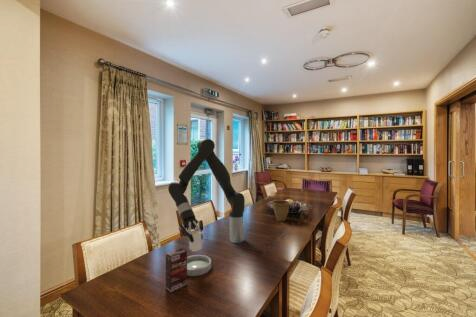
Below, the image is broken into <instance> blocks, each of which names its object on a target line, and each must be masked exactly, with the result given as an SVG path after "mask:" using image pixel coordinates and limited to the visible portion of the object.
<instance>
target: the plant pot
mask: <svg viewBox="0 0 476 317" xmlns="http://www.w3.org/2000/svg"><path fill="white" fill-rule="evenodd" d="M290 205H291V204H290V201H288V200H283V199H282V200H281V199H280V200H279V199H278V200H273V201H272V208H273V211H274V216H275V218H276V220H277V221H278V222H285V221H286V220H287V216H288V214H289V210H290Z"/></svg>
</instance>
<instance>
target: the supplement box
mask: <svg viewBox="0 0 476 317" xmlns="http://www.w3.org/2000/svg"><path fill="white" fill-rule="evenodd" d="M187 257H188V251H187V250H186V249H184V248H180V249H176V250H173V251H170V252H167V253H165V288H166V290H168V291H169V292H170V293H173V292H174V291H175V290H178V289H180V288H183V287H184V286H186V285H188V275H187Z"/></svg>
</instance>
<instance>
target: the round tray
mask: <svg viewBox="0 0 476 317" xmlns="http://www.w3.org/2000/svg"><path fill="white" fill-rule="evenodd" d="M211 269H212V259H211V257H209V256H208V255H204V254H194V255H189V256H187V276H190V277H195V276H202V275H204V274H207V273H208V272H209V271H210V270H211Z"/></svg>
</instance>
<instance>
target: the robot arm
mask: <svg viewBox="0 0 476 317" xmlns="http://www.w3.org/2000/svg"><path fill="white" fill-rule="evenodd" d="M215 145H216V144H215V142H214V141H213V139H210V138H201V139H199V140H198V142H197V145H196V146H197V152H196V154H195V156H194V157H193V158H192V159H191V160H190V161H189V162H188V163H187V164H186V165H185V166H184V168H183V169H182V171H181V172H180V173H179V175H178V179H179V183H178V182H176V181H175V182H173V181H172V182H171V183H169V185H168V188H167V189H168V193H169V195H170V197H171V198H172V200H173V201H174V202H175V206H176V209H177V212H178V215H179V218H180V220H181V222H182V224H180V225H179V227H178V230H179V231H180V233H181V234H182V235H183V236H184V237H188V241H189V240H190V242H191V243H192V242H194V239H193V237H192V234H191V231H192V230H193V231H195V230H198V231H200V232H201V241H202V240H203V238H204V235H203V233H202V232H203V231H204V230H205V229H204V222H203V220H202V219H201V220H197V217H196V215H195V212H194V210H193V207H192V205H191V204H190V202H189V200H188V198H187V196H186V195H185V193H186V191H187V188H188V186H189V182H191V181H190V180H192V178H193V177H194V175H195V173H196V172H197V170H199V168H200V167H201V165H202V164H203V163H204V161H206V164H207V165H208V166H209V169H210V171H211V172H212V175H213V176H214V178H215V180H216V181H217V183H218V185H219V186H220V188H221V190H222V192H223V193H224V195H225V197H226V201H227V202H228V203H229V204H230V205H231V206H232V209H231V210H230V211H229V241H230V243H232V244H240V243H243V242H244V241H245V225H244V212H245V206H246V205H245V202H246V200H245V196H244V194H243V193H241V192H238V191H236V190H235V188H234V187H233V185H232V181H231V175H230V173H229V171H228V169H227V167H226V165H225V164H224V163H223V162H222V161H221V160H220V159H219V157H218V156H217V155H216V153H215V151H214V150H215Z"/></svg>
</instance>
